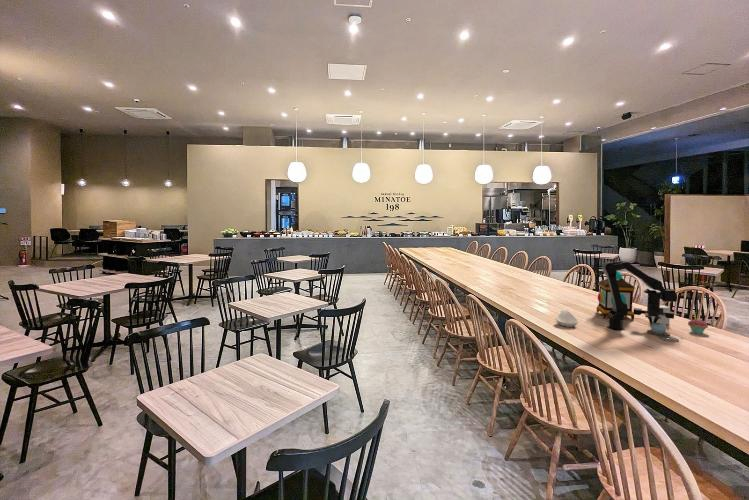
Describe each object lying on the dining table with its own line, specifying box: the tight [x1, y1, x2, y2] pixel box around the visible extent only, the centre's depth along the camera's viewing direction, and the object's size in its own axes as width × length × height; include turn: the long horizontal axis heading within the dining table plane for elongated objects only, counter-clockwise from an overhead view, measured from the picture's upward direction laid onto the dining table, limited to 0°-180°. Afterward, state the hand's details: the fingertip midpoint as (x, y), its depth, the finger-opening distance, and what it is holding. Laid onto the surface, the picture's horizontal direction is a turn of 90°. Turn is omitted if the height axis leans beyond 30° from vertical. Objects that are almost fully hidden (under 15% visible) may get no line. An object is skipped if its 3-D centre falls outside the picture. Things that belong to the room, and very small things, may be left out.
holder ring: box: [646, 329, 671, 337], centre depth 215 cm, size 10×10×1 cm
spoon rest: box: [556, 309, 579, 328], centre depth 239 cm, size 24×12×7 cm, turn 161°
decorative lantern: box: [596, 270, 636, 321], centre depth 252 cm, size 20×20×30 cm
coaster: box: [658, 336, 680, 343], centre depth 205 cm, size 9×9×1 cm
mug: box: [650, 323, 667, 335], centre depth 216 cm, size 11×7×6 cm, turn 133°
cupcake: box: [687, 311, 709, 334], centre depth 216 cm, size 9×8×12 cm
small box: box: [652, 304, 671, 325], centre depth 235 cm, size 8×6×10 cm
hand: (652, 328), depth 221 cm, fingers closed
